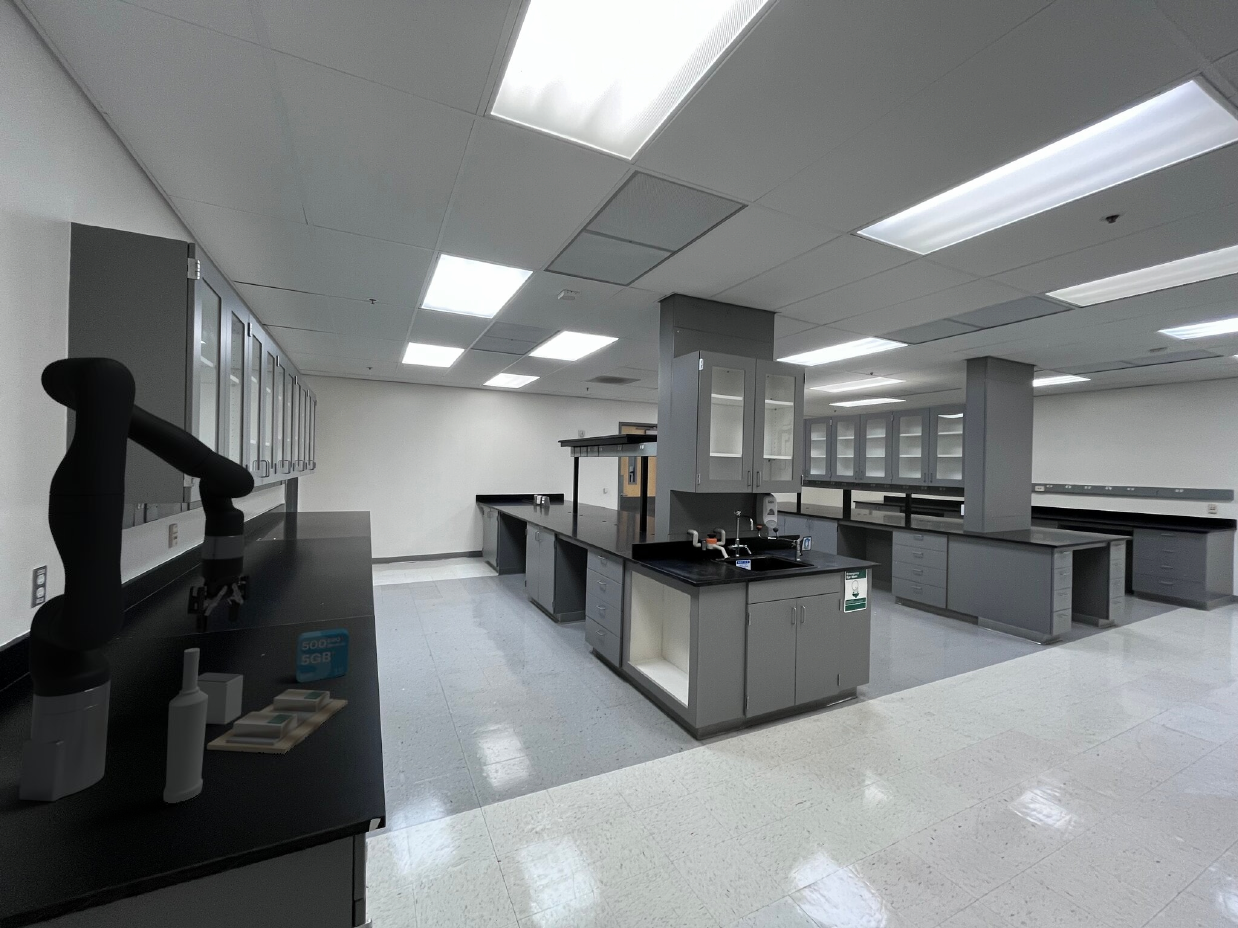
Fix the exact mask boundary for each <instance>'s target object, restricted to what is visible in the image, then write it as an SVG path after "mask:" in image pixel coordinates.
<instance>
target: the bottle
mask: <svg viewBox="0 0 1238 928" xmlns="http://www.w3.org/2000/svg"><path fill="white" fill-rule="evenodd" d="M199 660H200V648H199V647H193V648H188V649H185V650H184V652H183V672H182V687H181V688H182V689H181V690H179V694H177V695H176V696H175V697H174V698H173V699H171V700H169V704H168V722H167V723H168V725H167V747H166V748H167V753H166V779H165V782H166V783H165V788H164V790H163V802H164V801H165V802H168V803H176V802H177V803H178V802H180V801H185V800H188V799H190V798H193V797H195V796H196V795H198V794H199V793H200V794H201V792H202V789H203V784H204V783H203V782H204V780H203V778H202V770H203V759H204V758H203V757H204V747H205V734H206V725H207V723H206V714H207V702H208V695H207V694H205V693H204V692H202V691H200V690H199V689H200V688H199V687H197V679H198V676H199V675H198V674H199ZM200 794H199V795H200ZM199 795H198V796H199ZM195 798H196V797H195ZM165 802H164V803H165Z"/></svg>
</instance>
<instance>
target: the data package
mask: <svg viewBox="0 0 1238 928" xmlns="http://www.w3.org/2000/svg"><path fill="white" fill-rule="evenodd" d="M348 632H349V631H348V630H347V629H346V628H334V629H328V630H327V629H326V630H318V631H308V632H304V633H301V634H300V635H299V636H298V638H297V646H296V649H297V651H296V664H295V666H296V669H295V676H296V677H295V678H296V680H297V682H299V683H307V682H308V683H309V682H313V681H320V679H321V680H326V679H333V678H337V677H338V676H340V677H343V676H344V675H346V674H347V672H348V671H349V670H348V669H349V668H348V667H349V647H350V635H349V633H348Z"/></svg>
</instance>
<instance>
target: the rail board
mask: <svg viewBox="0 0 1238 928" xmlns="http://www.w3.org/2000/svg"><path fill="white" fill-rule="evenodd" d="M330 693H331V692H330V691H329V690H328V691H326V690H312V689H311V690H307V689H293V688H291V689H289V688H288V689H287V690H285V691H283V692H282V693H280V694H279V695H277V696H276V697H273V703H270V705H268V706H266V707H265V708H263V709H262V710H260V711H251V712H249V713H248V714H246V715H244V716H243V717H241V718H240V719H238V720H236V721H235V722H233V727H232V728H231V729H230V730H228V731H227V732H225V733H223V734H222V735H220V736H219V737H217V738H215V739H214V740H212V741H210V742H208V743H207V745H206V750H208V751H209V750H210V751H211V750H213V751H225V752H226V751H229V752H242V751H243V753H258V752H261V753H263V752H264V753H263V754H274V753H275V754H276V755H277V753H278V755H285V753H286V752H287V751H288V752H290V751H291V750H292V749H293V748H294V746H295V745H296V746H297V745H298V744H300V743H301V742H302V741H304V740H305V739H306V738H308V737H309V736H310V735H311V734H312V733H314V730H315V731H316V730H317V729H319V728H320V727H321V726H322V725H323V724H322V723H323V722H325V721H326V720H327V719H329V717H331V716H332V715H333V714H335V713H336V712H337V711H339V710H340V709H341V708H342V707H344V706H345V705H346V704H348V703H349V700H347V699H334V698H330V695H331V694H330ZM346 706H347V705H346ZM346 706H345V707H346ZM345 707H344V708H345ZM341 710H342V709H341ZM341 710H340V711H341ZM340 711H339V712H340ZM337 713H338V712H337ZM337 713H336V714H337ZM336 714H335V715H336ZM332 717H333V716H332ZM332 717H331V718H332ZM329 720H330V719H329ZM327 721H328V720H327ZM327 721H326V722H327ZM326 722H325V723H326ZM321 724H322V725H321ZM320 725H321V726H320ZM319 726H320V727H319ZM318 727H319V728H318ZM309 734H310V735H309ZM305 737H306V738H305ZM296 746H295V747H296ZM291 748H292V749H291ZM290 749H291V750H290ZM288 752H287V753H288ZM280 753H281V754H280ZM287 753H286V754H287Z"/></svg>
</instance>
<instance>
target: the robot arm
mask: <svg viewBox="0 0 1238 928" xmlns="http://www.w3.org/2000/svg"><path fill="white" fill-rule="evenodd" d="M40 375H41V376H40V382H41V383H40V384H41V386H42V389H43V390H44V391H45V393H46V394H47V395H48V397H50V398H51V399H52V400H54V402H56V403H58V404H60V405H61V406H64V407H66V408H68V409H70V410H72V411H74V412H75V422H74V423H75V424H74V425H75V426H74V434H73V438H72V441H71V443H70V445H69V447H68V449H67V451H66V453H65V454H64V455H63V458H62V460H61V461H60V463H59V465H58V466H57V468H56V470H55V471H54V474H53V476H52V478H51V481H50V484H49V491H48V494H49V495H48V511H47V512H48V513H47V516H48V517H47V518H48V519H47V520H48V525H49V529H50V530H49V531H50V533H51V536H52V539H53V542H54V544H55V546H56V547H55V548H56V550H57V552H58V555H59V557H60V561H61V563H62V566H63V570H64V587H63V593H61V594H59V595H55V596H54V597H51V598H50V599H48V600H47V601H45V602H43V604H42V605H41V606H40V607H39V608H37V610H36V612H35V614H34V615H33V618H32V619H31V623H30V629H29V640H28V644H29V645H28V650H29V651H28V652H29V653H28V654H29V655H28V671H29V675H30V678H31V680H32V683H33V697H32V698H33V700H32V701H33V702H32V711H31V713H32V714H31V723H30V724H31V725H30V726H31V728H30V739H28V740H25V741H24V742H23V743H22V753H21V754H22V755H21V769H20V782H19V796H18V800H23V801H25V800H26V801H40V802H41V801H42V802H55V801H57V800H59V799H60V798H63V797H66V796H67V797H68V796H69V795H73V794H75V793H78V792H80V791H81V792H82V791H83V790H85V789H88V788H89V787H91V786H93V785H95V784H96V783H98V782H99V781H100V780H101V779H102V778H103V777H104V775H105V767H106V754H107V753H106V752H107V751H106V750H107V739H108V738H107V737H108V721H109V705H110V694H111V693H110V692H111V691H110V690H111V675H112V665H111V663H110V661H108V659H107V658H106V657H105V655H104V654H103V652H102V649H101V648H102V647H104V646H106V645H107V644H108V643H110V642H112V640H113V639H115V637H117V635H118V633H119V632H120V631H121V629H122V626H123V624H124V620H125V601H124V594H123V582H122V569H121V567H122V563H121V561H122V545H123V524H124V513H125V512H124V511H125V499H126V498H125V493H126V492H125V490H126V487H125V486H126V485H125V484H126V482H125V481H126V480H125V479H126V468H127V467H126V465H127V449H128V448H127V447H128V439H129V440H130V441H133V442H134V443H136V444H138V446H141V447H143V448H144V449H146V450H147V451H149V452H150V453H152V454H153V455H155V456H156V457H158V458H160V459H161V460H162V461H163V462H165V463H167V464H168V465H170V466H171V467H172V468H174V469H176V470H177V471H178V472H180V473H182V474H184V475H186V476H188V477H191V478H195V479H196V478H197V479H199V482H198V492H199V497H200V502H201V507H202V509H203V512H204V513H203V514H204V516H205V517H204V518H205V520H204V521H205V522H204V537H203V542H202V544H201V545H202V547H201V559H200V560H201V564H200V576H201V578H202V579H204V580H203V581H204V582H203V584H202V585H197V586H195V585H191V587H189V594H188V600H187V610H186V611H187V612H186V613H187V615H189V616H192V615H193V616H195V617H196V619H195V620H196V621H195V630H196V632H197V633H199V634H206V633H209V631H210V619H211V615H210V613H211V612H212V611H213V609H214V607H216V606H217V605H218V603H219V602H222V601H224V600H227V602H228V603H229V605H228V617H227V618H228V621H229V622H230V623H231V622H232V623H233V622H235V623H237V622H239V621H240V619H241V615H242V605H243V604H244V602H245V601H249V599H250V591H251V586H250V585H251V584H250V583H251V578H250V575H248V574H243V572H244V571H243V570H244V559H245V558H244V555H245V539H244V534H245V533H244V532H245V531H244V529H245V513H244V511H243V510H241V509H239V508H237V507H236V506H235V505H234V502H233V499H241V498H245V497H247V496H248V495H250V494H251V493H252V492H253V490H254V488H255V479H254V476H253V474H252V473H251V472H250V471H249V470H248V469H247V468H246V467H244V466H243V465H241V464H240V463H238V462H236V461H234V460H232V459H230V458H228V457H226V456H225V455H222V454H220V453H218V452H216V451H215V450H212V448H210V447H209V446H208V445H207V444H206V443H204V442H203V441H201V440H200V439H199V438H198V437H196V436H194V435H193V434H192V433H190V432H189V431H187V430H186V429H183V428H181V427H180V426H178V425H176V424H174V423H172V422H169V421H168V420H166V419H163V418H161V417H159V416H157V415H155V414H153V413H151V412H149V411H147V410H145V409H143V408H142V407H140V406H138V404H136V403H135V399H136V393H137V392H136V391H137V390H136V381H135V380H136V379H134V378H135V377H134V376H133V373H132V372H131V370H130V369H129V368H128V367H127V365H125V364H124V363H122V362H121V361H119V360H117V359H114V358H110V357H101V356H100V357H99V356H96V357H95V356H93V357H92V356H91V357H90V356H89V357H86V356H85V357H66V358H61V359H57V360H55V361H52V362H51V363H49V364H47V365H46V366H45V367H44V369H43V370H42V373H41V374H40ZM242 591H243V592H242ZM195 605H196V608H195ZM204 608H205V609H204Z"/></svg>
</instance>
